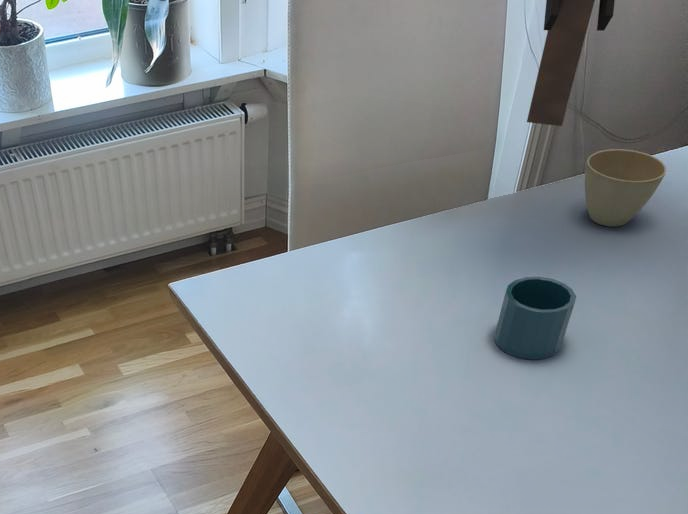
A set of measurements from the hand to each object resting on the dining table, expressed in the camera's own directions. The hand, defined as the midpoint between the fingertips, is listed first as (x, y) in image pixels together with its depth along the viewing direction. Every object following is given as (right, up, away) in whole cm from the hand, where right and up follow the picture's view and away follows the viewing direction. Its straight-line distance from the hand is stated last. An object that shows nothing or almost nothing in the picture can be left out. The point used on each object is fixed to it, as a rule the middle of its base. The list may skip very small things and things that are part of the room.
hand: (577, 22), depth 93 cm
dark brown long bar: (+1, -4, +11) cm, 11 cm away
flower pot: (+16, -7, +29) cm, 34 cm away
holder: (-1, -30, +11) cm, 32 cm away
